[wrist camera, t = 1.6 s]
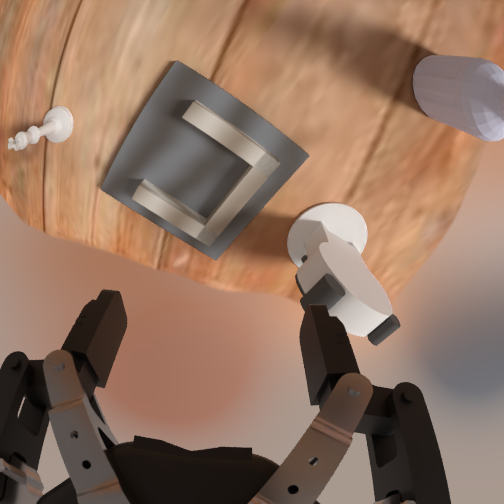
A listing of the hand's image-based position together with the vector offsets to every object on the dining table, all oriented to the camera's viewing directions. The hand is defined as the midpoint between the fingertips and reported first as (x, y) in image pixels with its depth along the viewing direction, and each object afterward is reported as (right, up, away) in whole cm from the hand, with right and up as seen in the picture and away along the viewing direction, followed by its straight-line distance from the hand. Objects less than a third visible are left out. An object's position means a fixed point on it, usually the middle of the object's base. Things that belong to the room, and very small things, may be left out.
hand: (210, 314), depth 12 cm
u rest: (-5, +12, +20) cm, 24 cm away
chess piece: (-23, +19, +15) cm, 33 cm away
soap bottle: (+25, +23, +13) cm, 37 cm away
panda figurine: (+12, +4, +26) cm, 29 cm away
